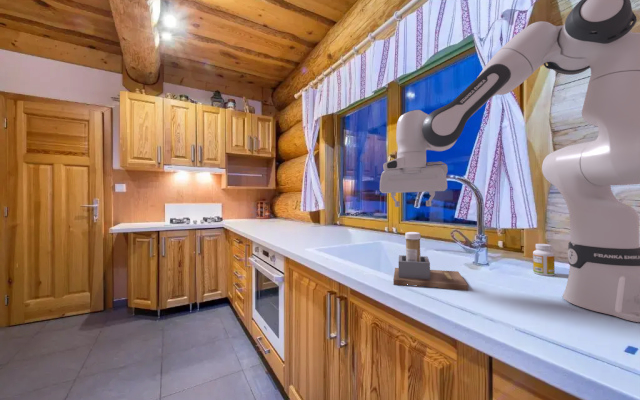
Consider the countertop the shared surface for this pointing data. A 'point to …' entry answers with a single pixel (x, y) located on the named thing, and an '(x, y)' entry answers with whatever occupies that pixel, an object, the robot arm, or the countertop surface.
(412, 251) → the sprinkles bottle
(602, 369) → the countertop surface
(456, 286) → the wooden board
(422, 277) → the grey square open box
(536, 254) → the supplement bottle
